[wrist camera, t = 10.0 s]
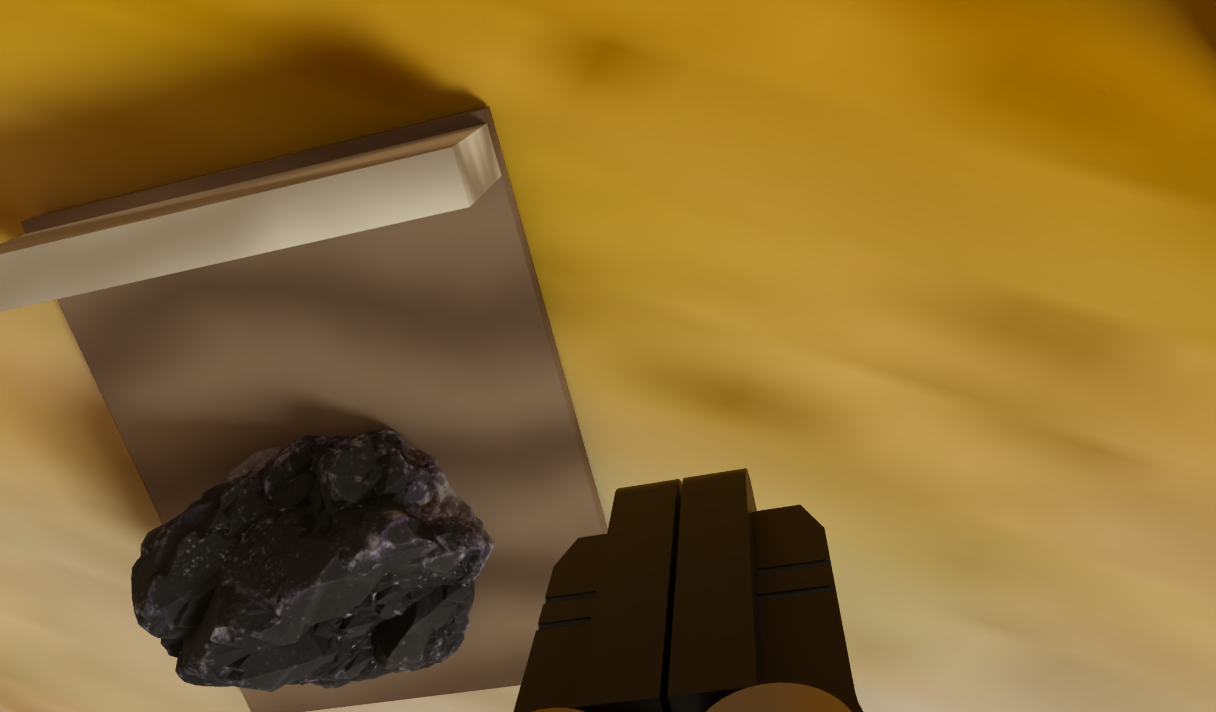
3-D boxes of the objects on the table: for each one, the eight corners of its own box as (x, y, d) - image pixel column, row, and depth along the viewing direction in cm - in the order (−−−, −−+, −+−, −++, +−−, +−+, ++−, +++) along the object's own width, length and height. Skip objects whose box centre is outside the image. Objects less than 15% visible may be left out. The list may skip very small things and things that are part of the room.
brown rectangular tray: (643, 655, 45) (632, 752, 40) (262, 703, 49) (204, 797, 43) (488, 105, 36) (447, 131, 31) (36, 216, 40) (-73, 256, 34)
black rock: (561, 542, 44) (523, 662, 34) (375, 714, 47) (292, 867, 38) (347, 341, 43) (245, 408, 33) (169, 533, 46) (29, 644, 36)
